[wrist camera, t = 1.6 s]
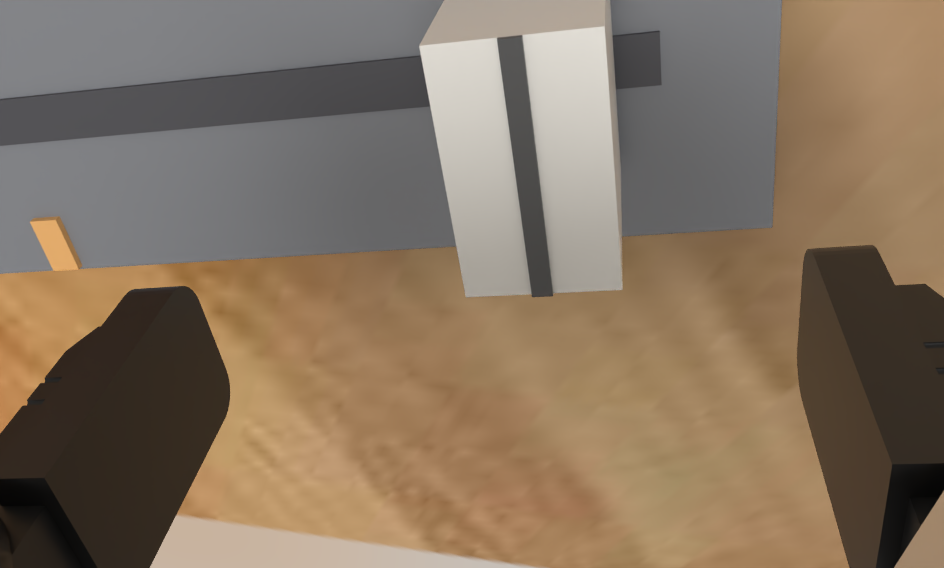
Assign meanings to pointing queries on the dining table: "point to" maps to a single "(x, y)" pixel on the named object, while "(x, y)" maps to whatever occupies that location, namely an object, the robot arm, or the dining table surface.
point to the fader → (528, 143)
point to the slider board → (333, 127)
